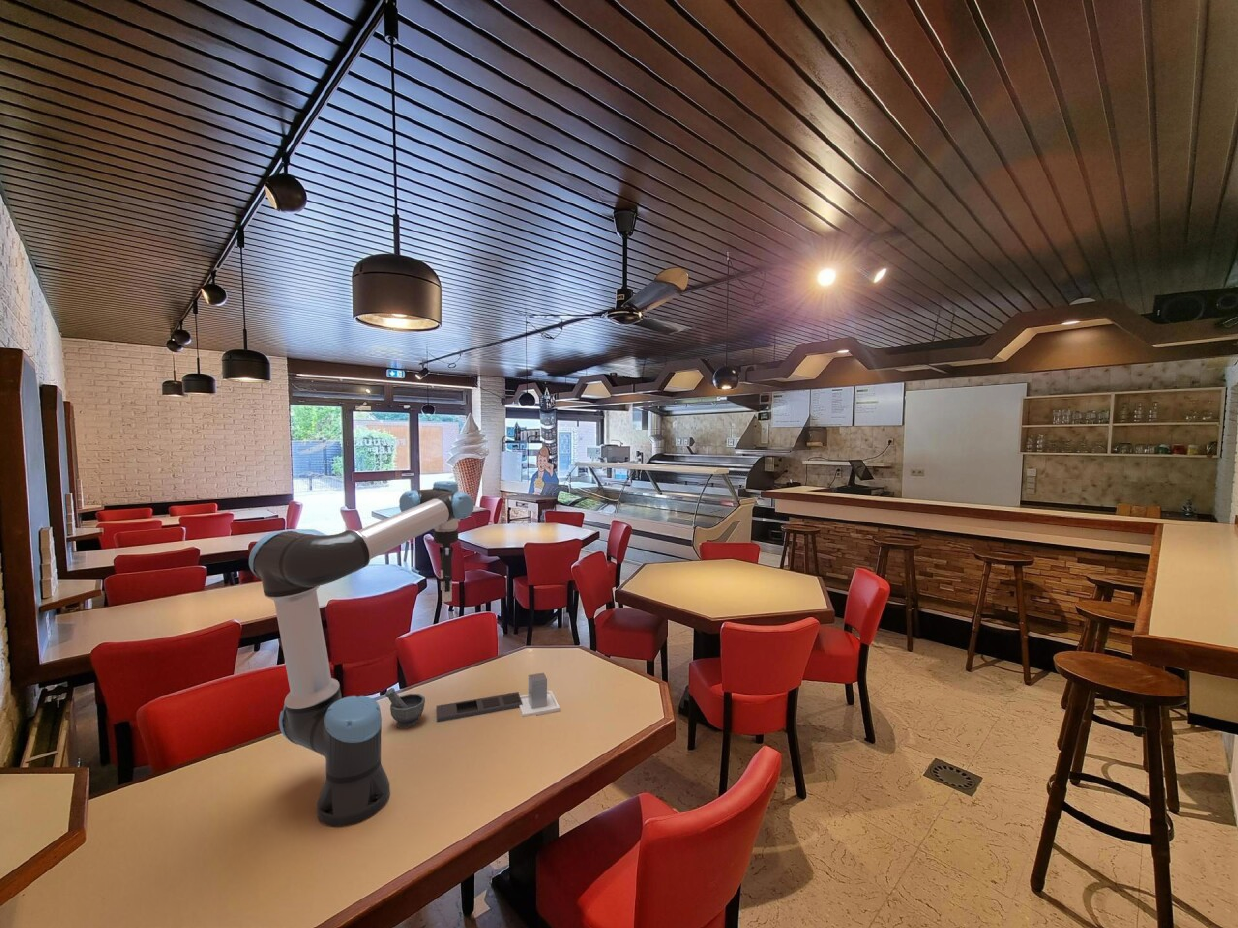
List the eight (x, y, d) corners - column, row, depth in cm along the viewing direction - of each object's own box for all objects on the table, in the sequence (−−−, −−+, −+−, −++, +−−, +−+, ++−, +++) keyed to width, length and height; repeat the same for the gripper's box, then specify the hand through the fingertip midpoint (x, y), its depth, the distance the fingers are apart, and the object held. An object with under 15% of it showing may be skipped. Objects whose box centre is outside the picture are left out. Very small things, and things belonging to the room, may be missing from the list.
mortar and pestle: (421, 712, 158) (421, 674, 158) (428, 726, 150) (428, 687, 150) (382, 722, 152) (382, 683, 151) (387, 737, 144) (387, 697, 144)
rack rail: (522, 708, 161) (522, 703, 161) (437, 723, 151) (437, 718, 151) (518, 696, 168) (518, 691, 168) (436, 710, 159) (436, 705, 159)
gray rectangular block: (546, 706, 161) (547, 678, 161) (531, 709, 159) (531, 681, 159) (543, 698, 166) (543, 672, 166) (528, 701, 164) (528, 674, 164)
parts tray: (560, 711, 159) (560, 707, 159) (522, 718, 155) (522, 714, 155) (551, 693, 170) (551, 690, 170) (516, 699, 166) (516, 696, 166)
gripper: (460, 535, 149) (460, 605, 149) (456, 523, 172) (456, 584, 173) (434, 536, 146) (434, 608, 147) (432, 524, 169) (433, 586, 170)
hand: (446, 595), depth 160 cm, fingers open, 13 cm apart
